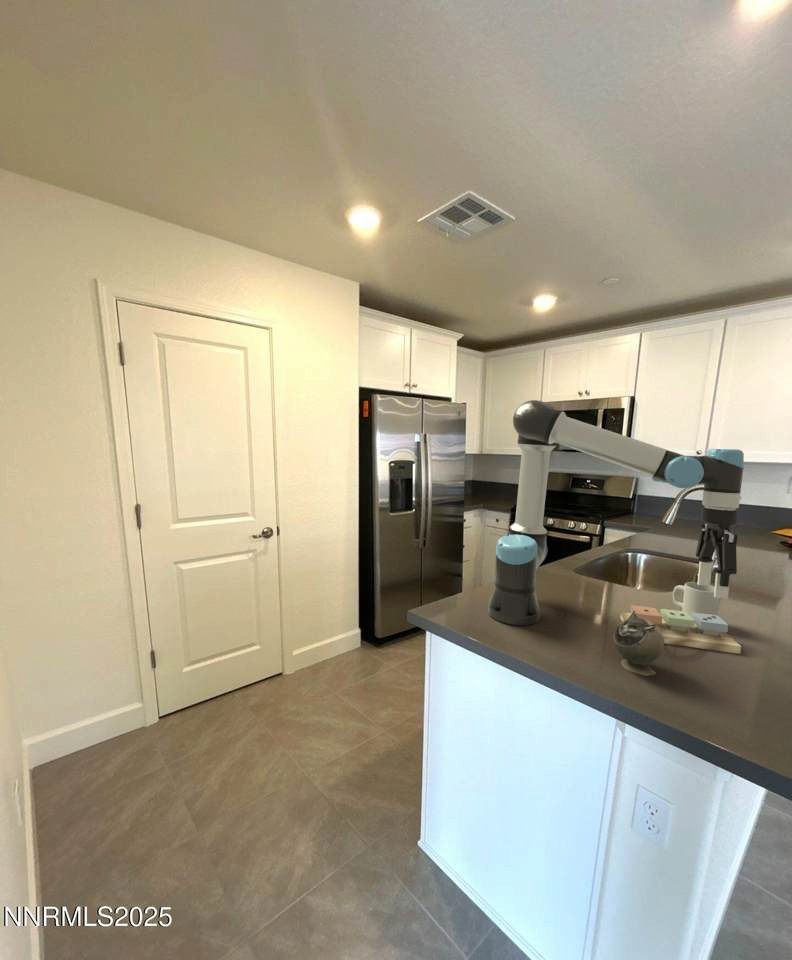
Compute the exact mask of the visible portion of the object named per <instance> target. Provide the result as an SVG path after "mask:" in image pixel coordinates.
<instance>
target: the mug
mask: <svg viewBox="0 0 792 960" xmlns="http://www.w3.org/2000/svg"><path fill="white" fill-rule="evenodd" d="M697 583H698V581H697V582H695V581H691V582H690V581H687V582H685V583H684V585H682V584H681V585H680V584H679V585H676V586H675V587H674V588H673V591H672V601H673V603H674V605H675V606H677V607H678V608H681V611H685V612H686V613H687V614H688V615H689V616H690V617H691V612H693V613H702V614H710V615H717V616H718V617H719V613H720V602H721V598H716V597H714V590H715V585H711V584H710V586H704V585H698V584H697ZM679 591H682V592H683V598H682V602H681V601H680V600H679V598H678V593H679Z"/></svg>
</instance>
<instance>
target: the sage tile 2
mask: <svg viewBox="0 0 792 960" xmlns="http://www.w3.org/2000/svg"><path fill="white" fill-rule="evenodd" d="M659 614H660V615H661V616H662V618H663V619H664V621H665V622H666V623H667V624H666V625H667V626H668V628H669V629H670V630H673V631H680V632H686V627H691V628H694V623H695V621H694V620H693V619H692V618H691V617H690V616H689V615H688V614H687V613H686V612H685V611H682V610H675V609H674V610H673V609H666V608H660V612H659Z"/></svg>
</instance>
